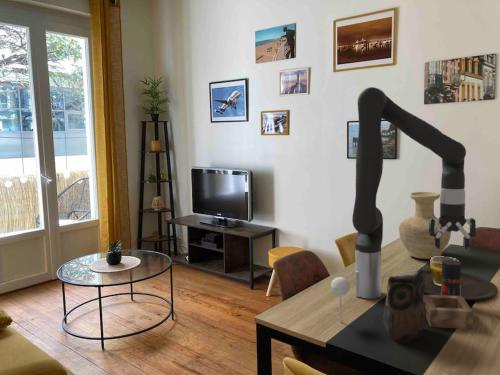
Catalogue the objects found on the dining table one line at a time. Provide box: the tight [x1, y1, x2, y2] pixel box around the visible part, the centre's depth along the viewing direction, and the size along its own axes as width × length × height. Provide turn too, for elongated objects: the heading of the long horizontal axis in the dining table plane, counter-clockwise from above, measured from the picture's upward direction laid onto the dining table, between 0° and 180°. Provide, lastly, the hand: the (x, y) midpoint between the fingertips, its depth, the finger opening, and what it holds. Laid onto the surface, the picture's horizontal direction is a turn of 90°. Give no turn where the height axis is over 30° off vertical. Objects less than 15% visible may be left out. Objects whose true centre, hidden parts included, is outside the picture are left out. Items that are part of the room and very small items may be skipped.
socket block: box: [423, 294, 474, 330], centre depth 132 cm, size 12×12×6 cm
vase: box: [398, 191, 452, 260], centre depth 193 cm, size 22×22×30 cm
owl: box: [382, 267, 427, 343], centre depth 123 cm, size 13×13×20 cm
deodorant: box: [440, 259, 462, 296], centre depth 142 cm, size 6×6×15 cm
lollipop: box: [330, 276, 351, 323], centre depth 133 cm, size 6×6×15 cm
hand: (451, 248), depth 141 cm, fingers open, 8 cm apart
